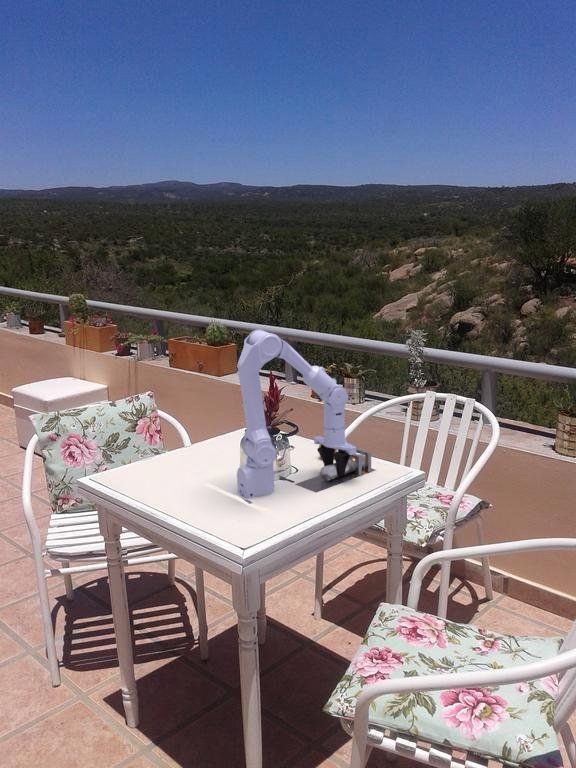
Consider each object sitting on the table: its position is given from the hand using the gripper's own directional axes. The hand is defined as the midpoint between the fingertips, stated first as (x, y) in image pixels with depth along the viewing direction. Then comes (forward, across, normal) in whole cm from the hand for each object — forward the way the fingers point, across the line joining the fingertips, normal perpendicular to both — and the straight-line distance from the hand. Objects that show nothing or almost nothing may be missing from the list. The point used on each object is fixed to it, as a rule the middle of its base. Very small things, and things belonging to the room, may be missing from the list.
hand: (335, 473), depth 184 cm
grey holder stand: (+2, 0, -1) cm, 3 cm away
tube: (+1, 0, -4) cm, 4 cm away
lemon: (+3, +13, -10) cm, 16 cm away
